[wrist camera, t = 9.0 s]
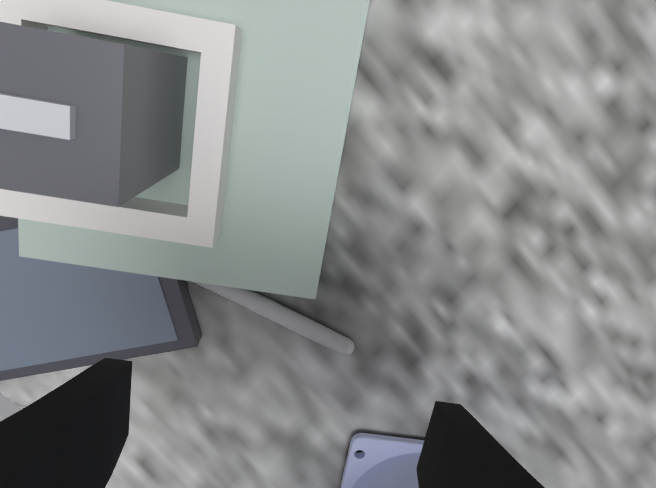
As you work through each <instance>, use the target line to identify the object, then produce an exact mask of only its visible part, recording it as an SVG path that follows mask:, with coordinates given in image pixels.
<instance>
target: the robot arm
mask: <svg viewBox="0 0 656 488" xmlns="http://www.w3.org/2000/svg"><path fill="white" fill-rule="evenodd" d="M131 374H132V361H126V360H118V359H111V358H104V359H102V360H101V361H99V362H97V363H96V364H94V365H92V366H91V367H89V368H88V369H86V370H85V371H83V372H81V373H80V374H78V375H77V376H75V377H74V378H72V379H71V380H69V381H67V382H66V383H64V384H63V385H61V386H60V387H58V388H56V389H55V390H53V391H51V392H50V393H48V394H47V395H45V396H43V397H42V398H40V399H39V400H37V401H35V402H34V403H32V404H30V405H29V406H27V407H25V408H23V409H22V410H20V411H18V412H16V413H15V414H13V415H11V416H9V417H7V418H6V419H4V420H2V421H0V488H105V486H106V485H107V483H108V481H109V479H110V477H111V475H112V473H113V470H114V468H115V466H116V463H117V461H118V459H119V456H120V454H121V451H122V449H123V446H124V444H125V441H126V439H127V436H128V432H129V412H130V393H131ZM358 450H362V451H363V452H361V453H357V452H356V451H358ZM340 488H544V487H543V486H542V485H541V484H540V483H539V482H538V481H537V480H536V479H535V478H534V477H533V476H532V475H531V474H529V473H528V472H527V471H526V470H525V469H524V468H523V467H522V466H521V465H520V464H519V463H518V462H517V461H516V460H515V459H514V458H513V457H512V456H511V455H510V454H509V453H508V452H507V451H506V450H505V449H504V448H503V447H502V446H501V445H500V444H499V443H498V442H497V441H496V440H495V439H494V438H493V437H492V435H491V434H490V433H489V432H488V431H487V430H486V429H485V428H484V427H483V426H482V425H481V424H480V423H479V422H478V421H477V420H476V419H475V418H474V417H473V416H472V415H471V414H470V413H469V412H468V411H467V410H466V409H465V408H464V407H463V406H461V405H460V404H454V403H446V402H439V401H436V402H435V405H434V409H433V412H432V416H431V419H430V423H429V426H428V430H427V433H426V436H425V440H417V439H409V438H401V437H393V436H385V435H377V434H369V433H358V434H355V435H354V436H353V437H352V439H351V442H350V446H349V450H348V455H347V459H346V464H345V468H344V472H343V477H342V481H341V485H340Z"/></svg>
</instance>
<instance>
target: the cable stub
mask: <svg viewBox="0 0 656 488" xmlns="http://www.w3.org/2000/svg"><path fill="white" fill-rule="evenodd" d="M191 282H192V281H191ZM194 283H196V284H198V285H200V286H202V287H204V288H206V289H208V290H210V291H212V292H214V293H216V294H218V295H220V296H222V297H224V298H226V299H228V300H230V301H232V302H234V303H236V304H238V305H241V306H243V307H245V308H247V309H249V310H251V311H253V312H255V313H257V314H259V315H261V316H263V317H265V318H267V319H269V320H271V321H273V322H275V323H277V324H279V325H281V326H283V327H285V328H287V329H290V330H292V331H294V332H296V333H298V334H300V335H302V336H304V337H306V338H308V339H310V340H312V341H314V342H316V343H318V344H320V345H322V346H324V347H326V348H328V349H330V350H332V351H334V352H337V353H339V354H341V355H343V356H348V355H350V354H351V353H352V352H353V351H354V343H353V342H352V340H351V339H349V338H347V337H345V336H343V335H341V334H339V333H337V332H335V331H333V330H331V329H329V328H327V327H325V326H323V325H321V324H319V323H317V322H315V321H313V320H311V319H309V318H307V317H305V316H303V315H301V314H299V313H297V312H295V311H293V310H291V309H289V308H287V307H285V306H283V305H281V304H279V303H277V302H275V301H273V300H271V299H269V298H267V297H265V296H263V295H261V294H259V293H257V292H255V291H253V290H246V289H240V288H233V287H226V286H219V285H212V284H205V283H198V282H194Z"/></svg>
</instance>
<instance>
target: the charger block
mask: <svg viewBox="0 0 656 488" xmlns="http://www.w3.org/2000/svg"><path fill="white" fill-rule="evenodd" d="M187 61H188V57H184V56H179V55H174V54H169V53H164V52H159V51H154V50H149V49H145V48H140V47H135V46H130V45H125V44H120V43H114V42H109V41H103V40H98V39H92V38H87V37H81V36H76V35H71V34H65V33H60V32H54V31H49V30H43V29H38V28H32V27H27V26H21V25H16V24H11V23H5V22H0V189H5V190H11V191H17V192H24V193H30V194H37V195H43V196H50V197H56V198H62V199H69V200H75V201H82V202H88V203H94V204H101V205H107V206H114V207H120V206H121V205H123V204H124V203H126V202H127V201H129V200H131V199H132V198H134V197H135V196H137V195H138V194H140V193H142V192H143V191H145V190H146V189H148V188H149V187H151V186H153V185H154V184H156V183H157V182H159V181H160V180H162V179H164V178H165V177H167V176H168V175H170V174H171V173H173V172H175V171H176V170H178V169H179V167H180V154H181V141H182V127H183V114H184V101H185V88H186V75H187Z"/></svg>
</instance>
